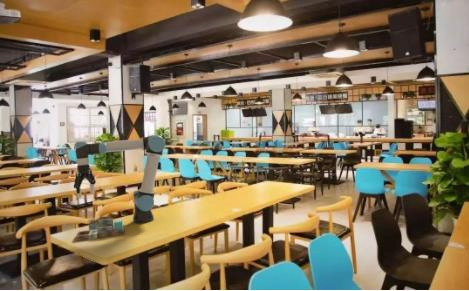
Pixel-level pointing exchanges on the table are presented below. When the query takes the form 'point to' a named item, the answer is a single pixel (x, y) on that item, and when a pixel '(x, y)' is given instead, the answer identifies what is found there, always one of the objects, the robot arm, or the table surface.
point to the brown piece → (100, 231)
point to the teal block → (118, 225)
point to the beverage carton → (96, 223)
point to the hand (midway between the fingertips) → (86, 195)
